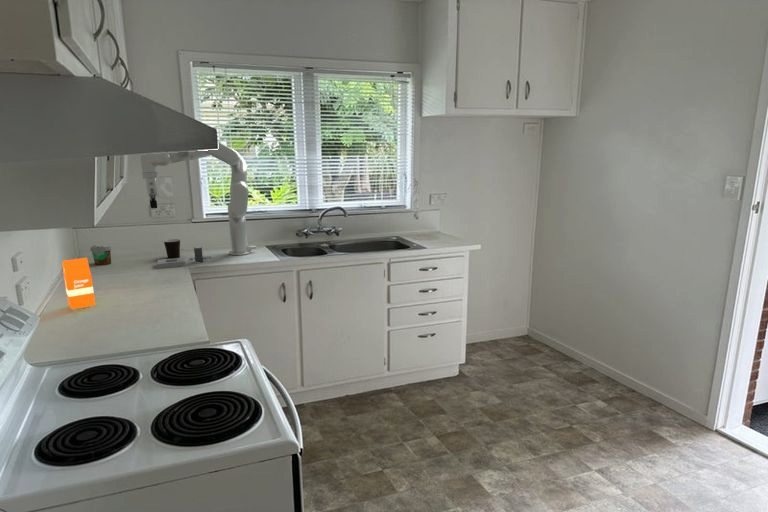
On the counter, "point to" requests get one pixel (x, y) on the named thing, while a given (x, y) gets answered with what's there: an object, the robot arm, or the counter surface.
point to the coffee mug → (172, 248)
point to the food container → (101, 255)
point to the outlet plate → (171, 262)
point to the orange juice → (78, 283)
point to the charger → (198, 254)
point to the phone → (203, 257)
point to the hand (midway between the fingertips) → (153, 207)
